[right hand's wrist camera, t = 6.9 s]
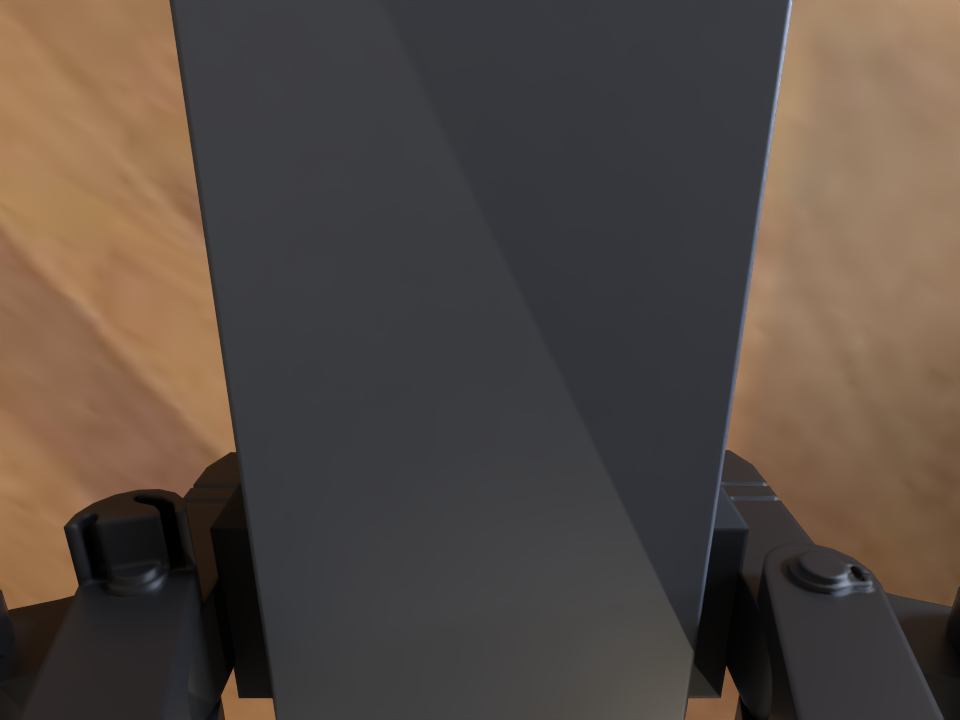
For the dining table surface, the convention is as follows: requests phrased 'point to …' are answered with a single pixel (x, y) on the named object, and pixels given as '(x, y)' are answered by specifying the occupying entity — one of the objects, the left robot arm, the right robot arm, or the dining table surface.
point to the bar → (480, 335)
